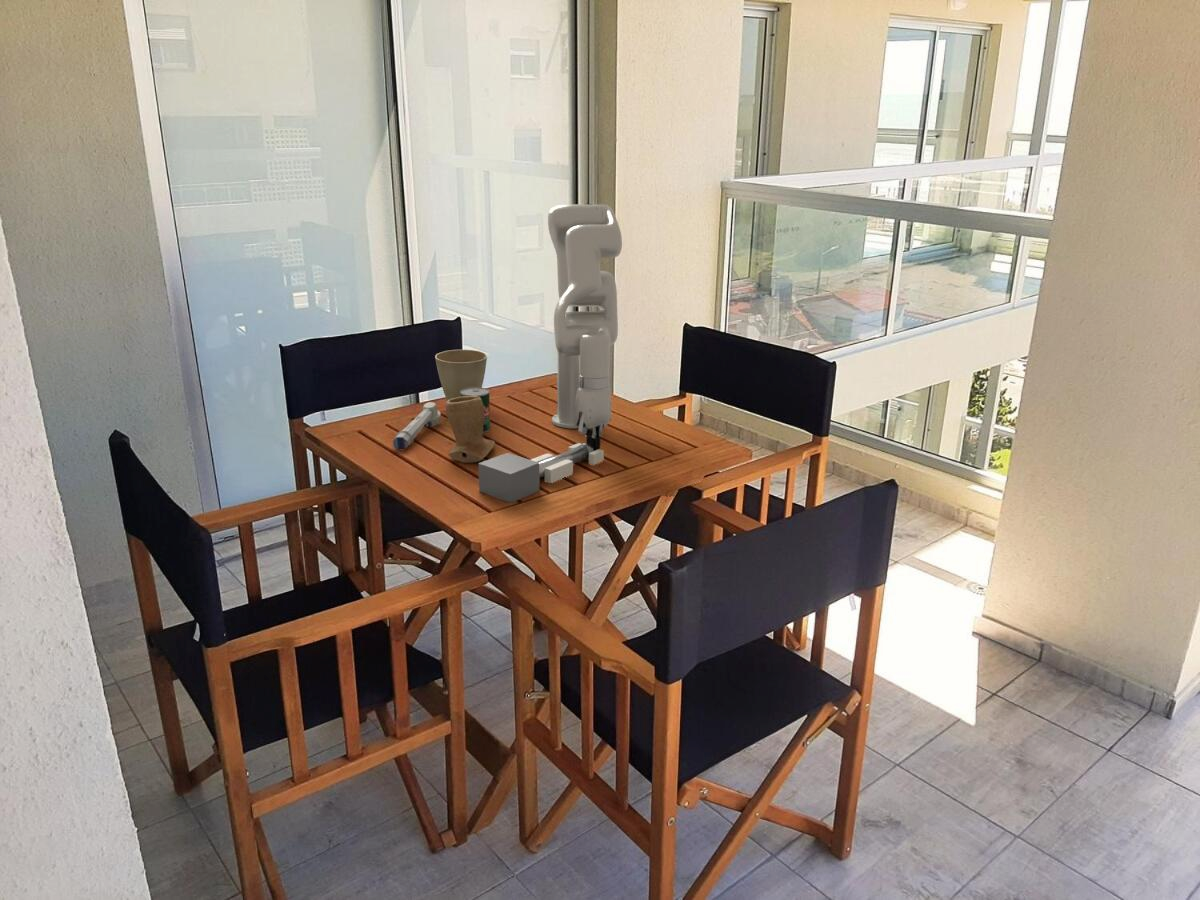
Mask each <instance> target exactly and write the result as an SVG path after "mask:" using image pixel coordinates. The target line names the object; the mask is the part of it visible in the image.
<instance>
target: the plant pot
mask: <svg viewBox="0 0 1200 900" xmlns="http://www.w3.org/2000/svg"><path fill="white" fill-rule="evenodd" d="M434 356H435V357H434V359H435V363H436V364H435V365H436V369H437V374H438V377H439V381H440V385H441V389H442V391H443V393H444V396H445V398H446V402H447V401H448V400H450V399H452V398H457V397H461V393H460V392H461V390H463V389H466V388H472V387H480V388H483V385H484V384H483V383H484V379H485V373H486V368H487V367H486V366H487V359H488V355H487V353H485V352H483V351H481V350H476V349H475V350H473V349H451V350H445V351H442V352H439V353H436V354H435V355H434Z"/></svg>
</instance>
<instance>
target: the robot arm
mask: <svg viewBox="0 0 1200 900" xmlns="http://www.w3.org/2000/svg"><path fill="white" fill-rule="evenodd" d="M547 226H548V231H549V233H548V234H549V236H550V238H551V242H552V244H553V247H554V249H555V254H556V265H557V287H558V288H557V289H558V290H557V293H558V298H559V300H558V301H557V303H556V306H555V309H554V315H553V329H554V330H553V331H554V343H555V348H556V354H557V357H556V358H557V359H556V360H557V363H556V364H557V366H556V367H557V374H556V375H557V379H556V380H557V383H556V384H557V387H556V388H557V393H556V394H557V398H556V399H557V400H556V402H557V403H556V404H557V406H556V408H557V413H556V414H554V415H553V416H552V417H551V422H552V424H553V425H555V426H556V427H559V428H565V429H578V430H577V431H578V433H579V434H582V435H584V436H585V437H586V443H589V444H590V445H591V446H592V447H593V450H594V451H595V450H598V449H601V437H602V435H603V430H604V428H605V427H606V426H608V425H609V422H610V421H611V418H612V395H611V394H612V393H611V387H610V368H611V367H610V363H611V362H610V361H611V359H610V357H611V347H612V345H613V344H615V342H616V341H617V339H618V335H619V334H618V332H619V326H618V325H619V323H618V320H619V319H618V318H619V317H618V292H617V284H616V279H615V277H614V275H613V274H612V273H611V272H609V271H606V270H601V260H600V259H602V258H604V259H605V258H607V259H610V258H612V259H613V258H614V259H615V258H616V257H619V255H620V254H621V252H622V245H623V242H622V241H623V240H622V239H623V238H622V232H621V229H620V225H619V222H618V220H617V217H616V214H615V212H614V210H613V208H612V207H611V206H610V205H608V204H580V203H579V204H575V203H573V204H571V203H570V204H569V203H568V204H560V205H559V204H558V205H556V206H554V207H551V209H550V210H549V212H548V216H547ZM569 307H598V308H599V310H600V311H598V310H597V311H596V310H595V311H593V310H591V311H590V310H589V311H587V310H586V311H584V310H583V311H567V310H568V308H569Z"/></svg>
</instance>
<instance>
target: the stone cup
mask: <svg viewBox="0 0 1200 900" xmlns="http://www.w3.org/2000/svg"><path fill="white" fill-rule="evenodd" d="M445 409H446V411H445V412H446V413H445V414H446V418H447V420H448V423H449V426H450V427H451V430H452V432H453V435H454V439H455V444H454V445H453V446H452V449H451V450H450V451H449V452H448V457H450V458H452V459H454V460H455V461H457V462H460V463H465V464H471V463H472V464H473V463H477V462H480V461H483V460H484V459H485V457H487V456H488V454H490V452H491V451H492V449H493V448H494V446H495V444H496V442H495V441H494V440H493V439H489V438H488V439H486V438H484V435H483V434H484V433H483V424H484V419H485V415H484V407H483V402H482V400H481V398H480V397H478V396H463V397H457V398H452V399H450V400H448V401H447V400H446V402H445Z"/></svg>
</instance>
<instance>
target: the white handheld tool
mask: <svg viewBox="0 0 1200 900" xmlns="http://www.w3.org/2000/svg"><path fill="white" fill-rule="evenodd" d="M440 418H441V411H439V410H438V407H437V404H436V403H435V402H432V401H429V402H426V403H424V405H423V406H422V411H421V412H420V413H419V414H418V415H417V416H416V417H415V418H414V419H412V421H411V422H410V423H409V424H408V425H406V427H405V428H404V429H403V430H402V429H401V430H400V431H398V432H397V433H396V437H395V438H394V439H393V440H392V445H393V446H392V447H393V448H394V449H396V450H400V449H405V450H406V449H407V448H408V445H409V446H410V445H412V444H413V443H414V439H415V438H416V437H417V436H418V434H419V433H420V431H421V430H422V429H423V428H424V427H428V426H432V427H435V426H438V425H437V424H439V425H440V424H441V419H440ZM424 425H425V426H424Z"/></svg>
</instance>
